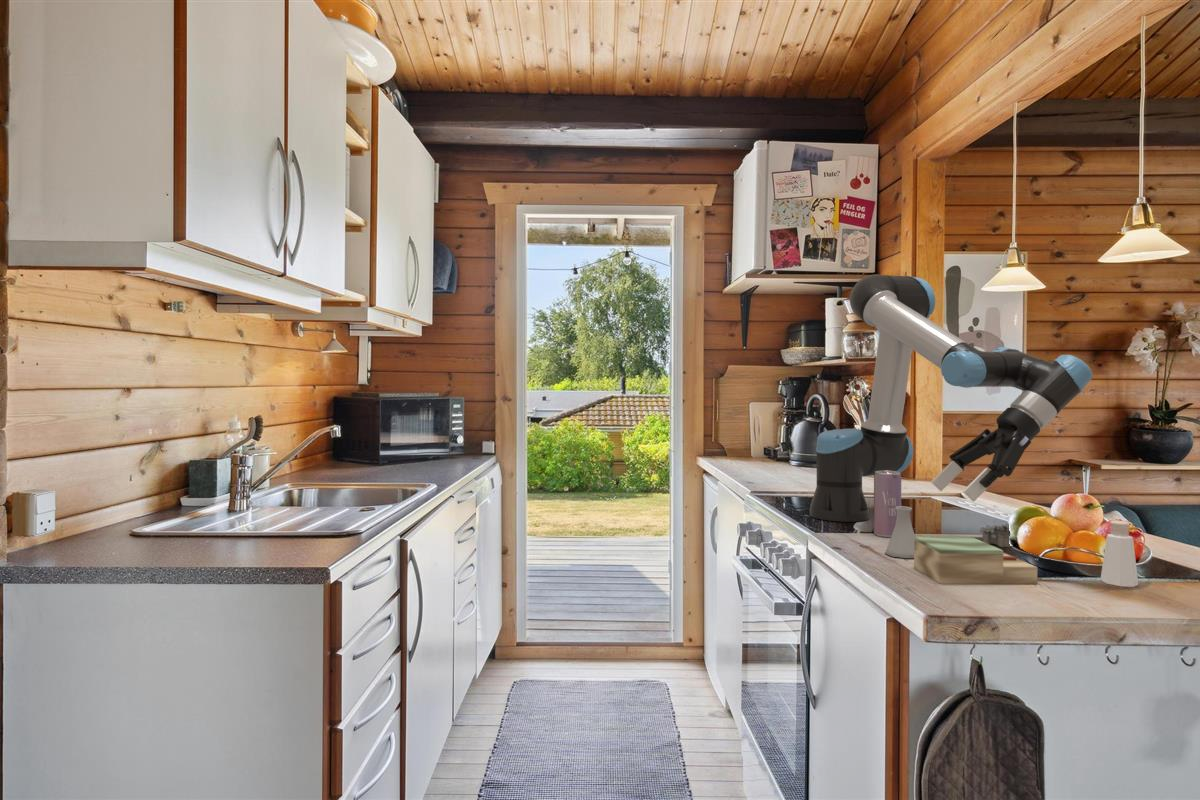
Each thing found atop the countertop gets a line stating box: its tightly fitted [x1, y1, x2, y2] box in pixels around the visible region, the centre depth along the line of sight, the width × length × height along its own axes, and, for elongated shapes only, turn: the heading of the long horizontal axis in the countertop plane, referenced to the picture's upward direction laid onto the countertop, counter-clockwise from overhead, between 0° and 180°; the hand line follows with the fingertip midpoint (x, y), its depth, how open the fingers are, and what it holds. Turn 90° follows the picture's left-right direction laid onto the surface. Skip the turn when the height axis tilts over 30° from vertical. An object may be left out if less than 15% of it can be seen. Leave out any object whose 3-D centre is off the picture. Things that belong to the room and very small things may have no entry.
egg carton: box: [979, 522, 1011, 548], centre depth 156 cm, size 11×8×4 cm
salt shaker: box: [1100, 519, 1139, 588], centre depth 124 cm, size 5×5×11 cm
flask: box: [884, 505, 916, 559], centre depth 145 cm, size 7×7×10 cm
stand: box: [913, 536, 1038, 585], centre depth 129 cm, size 11×17×6 cm, turn 89°
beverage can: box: [873, 471, 902, 539], centre depth 163 cm, size 6×6×15 cm
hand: (951, 491), depth 144 cm, fingers open, 13 cm apart
